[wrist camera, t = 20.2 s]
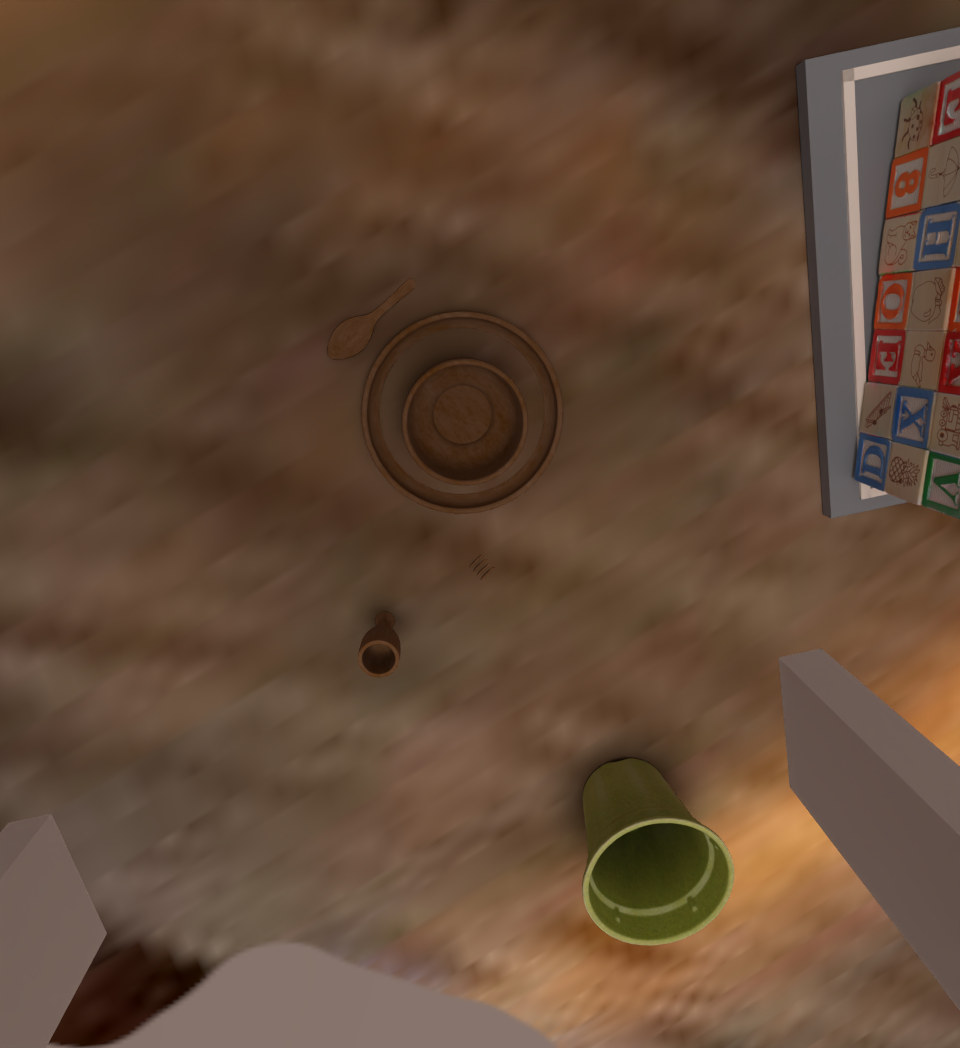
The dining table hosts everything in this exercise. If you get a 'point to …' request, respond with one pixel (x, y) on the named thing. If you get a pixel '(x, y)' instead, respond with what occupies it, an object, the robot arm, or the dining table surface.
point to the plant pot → (649, 858)
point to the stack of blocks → (918, 313)
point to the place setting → (450, 430)
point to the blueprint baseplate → (853, 228)
